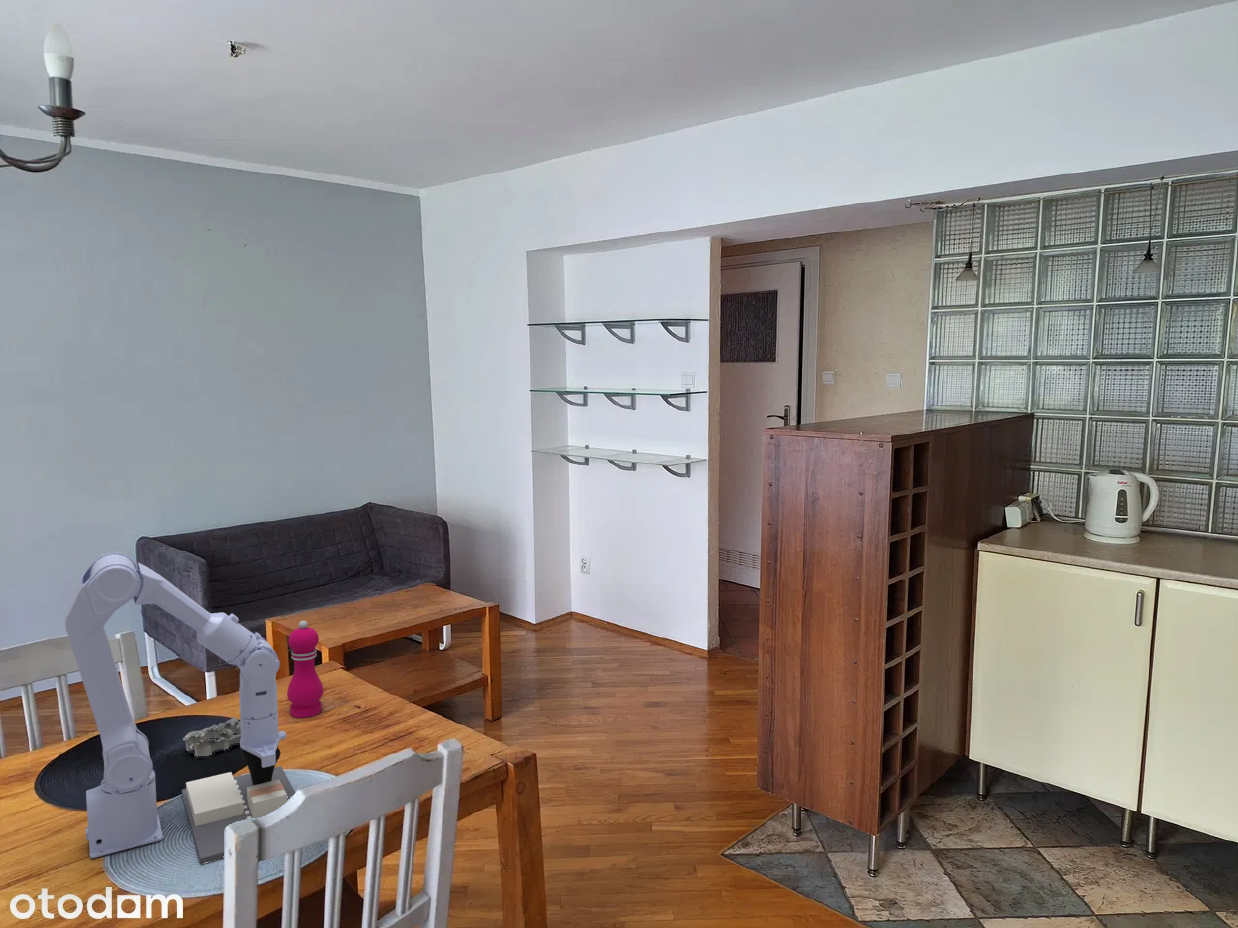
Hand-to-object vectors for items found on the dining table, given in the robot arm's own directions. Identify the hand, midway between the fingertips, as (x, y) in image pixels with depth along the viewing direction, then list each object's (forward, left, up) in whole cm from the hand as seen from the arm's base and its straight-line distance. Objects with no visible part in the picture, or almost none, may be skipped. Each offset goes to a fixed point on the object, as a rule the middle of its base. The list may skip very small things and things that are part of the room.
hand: (262, 790), depth 139 cm
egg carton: (-3, +27, -3) cm, 28 cm away
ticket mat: (-3, -2, -2) cm, 4 cm away
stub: (0, -4, -1) cm, 4 cm away
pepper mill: (+15, +35, -2) cm, 38 cm away
